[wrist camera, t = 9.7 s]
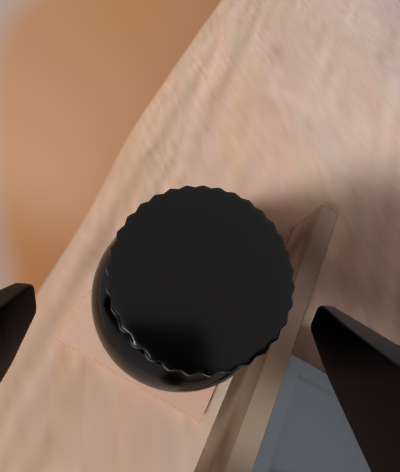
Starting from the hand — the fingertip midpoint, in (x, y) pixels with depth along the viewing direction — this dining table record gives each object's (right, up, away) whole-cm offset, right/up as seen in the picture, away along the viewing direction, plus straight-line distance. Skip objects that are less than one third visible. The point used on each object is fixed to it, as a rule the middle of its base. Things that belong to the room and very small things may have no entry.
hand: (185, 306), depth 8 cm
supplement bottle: (-2, -3, +9) cm, 10 cm away
